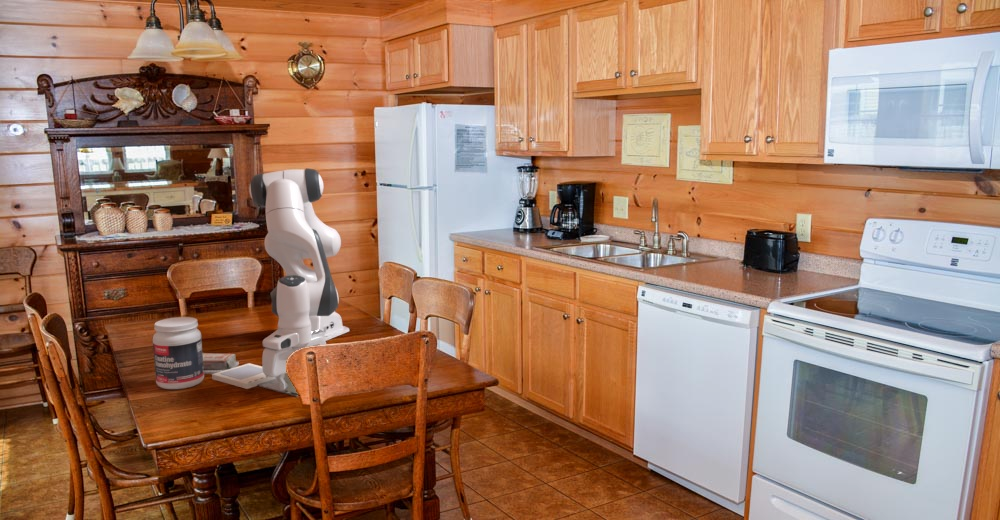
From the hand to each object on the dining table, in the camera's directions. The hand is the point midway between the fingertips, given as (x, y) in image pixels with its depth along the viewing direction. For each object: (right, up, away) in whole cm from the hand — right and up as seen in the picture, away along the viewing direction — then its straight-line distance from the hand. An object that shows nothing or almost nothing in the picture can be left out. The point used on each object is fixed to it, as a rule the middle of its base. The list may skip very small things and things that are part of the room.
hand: (297, 384), depth 211 cm
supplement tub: (-36, -1, +8) cm, 37 cm away
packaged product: (-34, 0, +22) cm, 41 cm away
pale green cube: (0, -2, 0) cm, 2 cm away
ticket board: (-11, -1, +8) cm, 13 cm away
